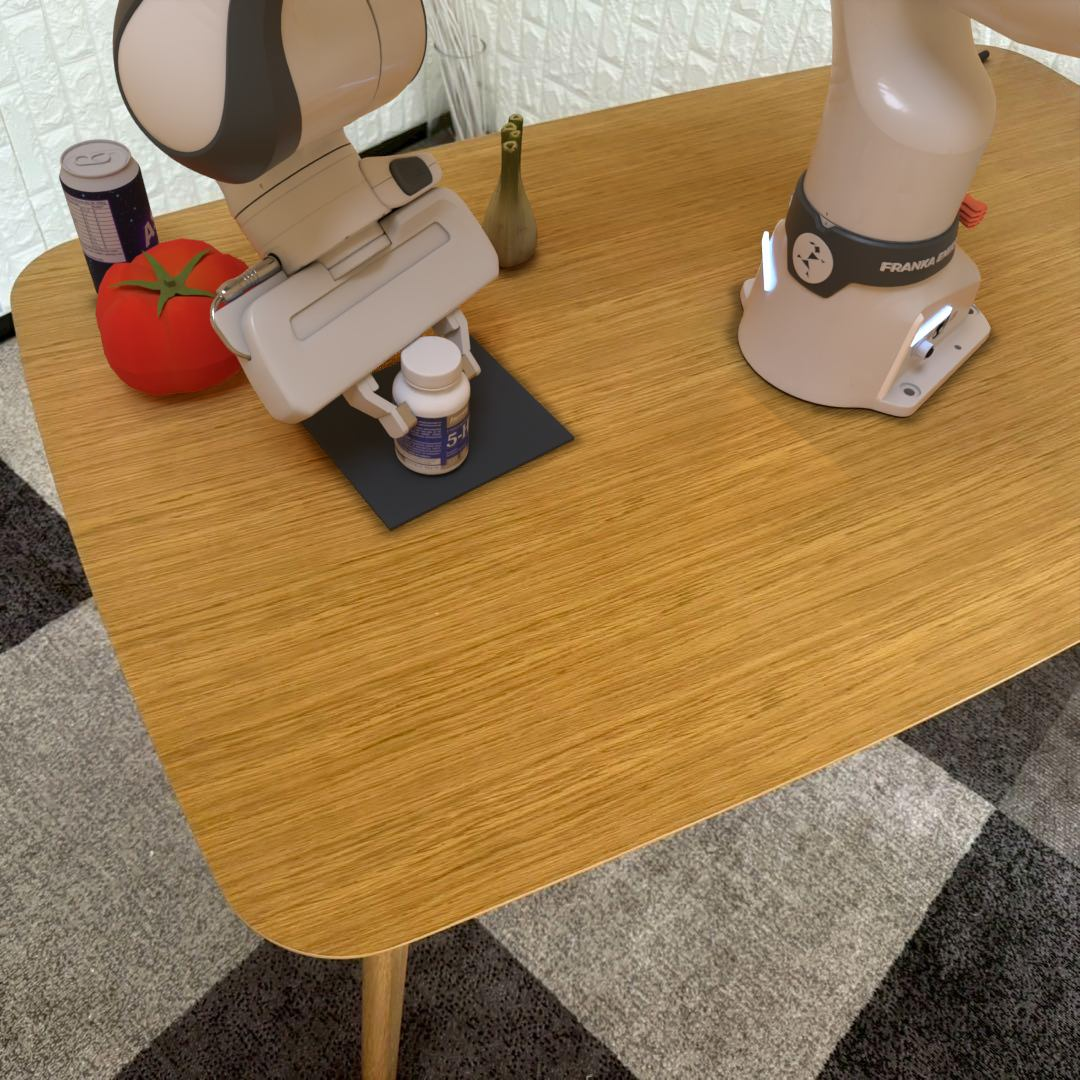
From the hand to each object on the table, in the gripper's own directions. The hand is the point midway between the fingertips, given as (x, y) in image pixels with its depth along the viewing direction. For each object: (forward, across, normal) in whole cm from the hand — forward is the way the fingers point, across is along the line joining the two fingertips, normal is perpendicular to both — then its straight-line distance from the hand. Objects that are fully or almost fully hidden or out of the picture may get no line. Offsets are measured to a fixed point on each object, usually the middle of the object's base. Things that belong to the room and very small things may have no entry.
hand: (439, 405), depth 69 cm
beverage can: (-18, -2, +26) cm, 32 cm away
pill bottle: (+3, 0, +4) cm, 5 cm away
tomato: (-11, -4, +19) cm, 23 cm away
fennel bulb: (-4, +23, +12) cm, 26 cm away
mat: (+2, +2, +6) cm, 7 cm away
